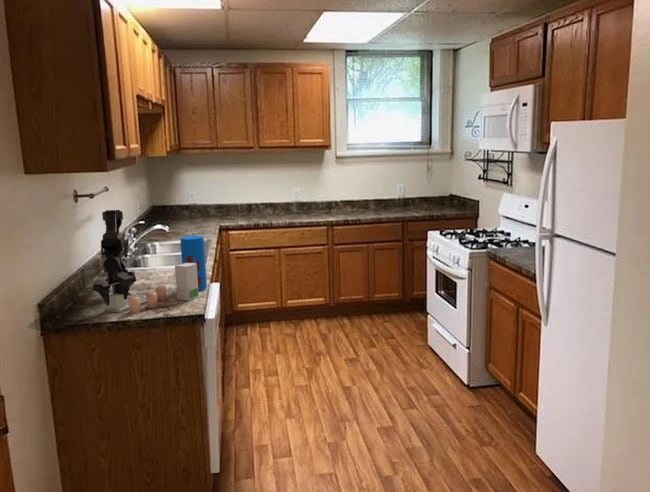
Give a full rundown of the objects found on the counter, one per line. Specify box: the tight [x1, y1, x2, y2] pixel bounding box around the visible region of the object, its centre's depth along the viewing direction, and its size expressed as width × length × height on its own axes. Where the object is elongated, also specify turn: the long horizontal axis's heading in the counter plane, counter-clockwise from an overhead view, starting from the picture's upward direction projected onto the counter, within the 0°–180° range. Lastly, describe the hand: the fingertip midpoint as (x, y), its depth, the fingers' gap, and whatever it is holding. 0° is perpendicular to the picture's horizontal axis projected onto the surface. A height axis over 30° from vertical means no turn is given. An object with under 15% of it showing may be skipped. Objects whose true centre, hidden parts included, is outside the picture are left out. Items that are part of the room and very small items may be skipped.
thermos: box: [179, 235, 208, 292], centre depth 258 cm, size 11×11×25 cm
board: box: [104, 296, 147, 314], centre depth 234 cm, size 9×19×1 cm, turn 154°
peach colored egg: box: [127, 296, 142, 314], centre depth 225 cm, size 4×4×6 cm
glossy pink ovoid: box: [155, 285, 168, 302], centre depth 241 cm, size 4×4×6 cm
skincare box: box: [174, 263, 200, 301], centre depth 243 cm, size 8×7×16 cm
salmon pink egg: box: [145, 291, 159, 310], centre depth 231 cm, size 4×4×6 cm
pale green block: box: [109, 294, 125, 309], centre depth 229 cm, size 4×4×5 cm
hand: (116, 302), depth 229 cm, fingers open, 9 cm apart
